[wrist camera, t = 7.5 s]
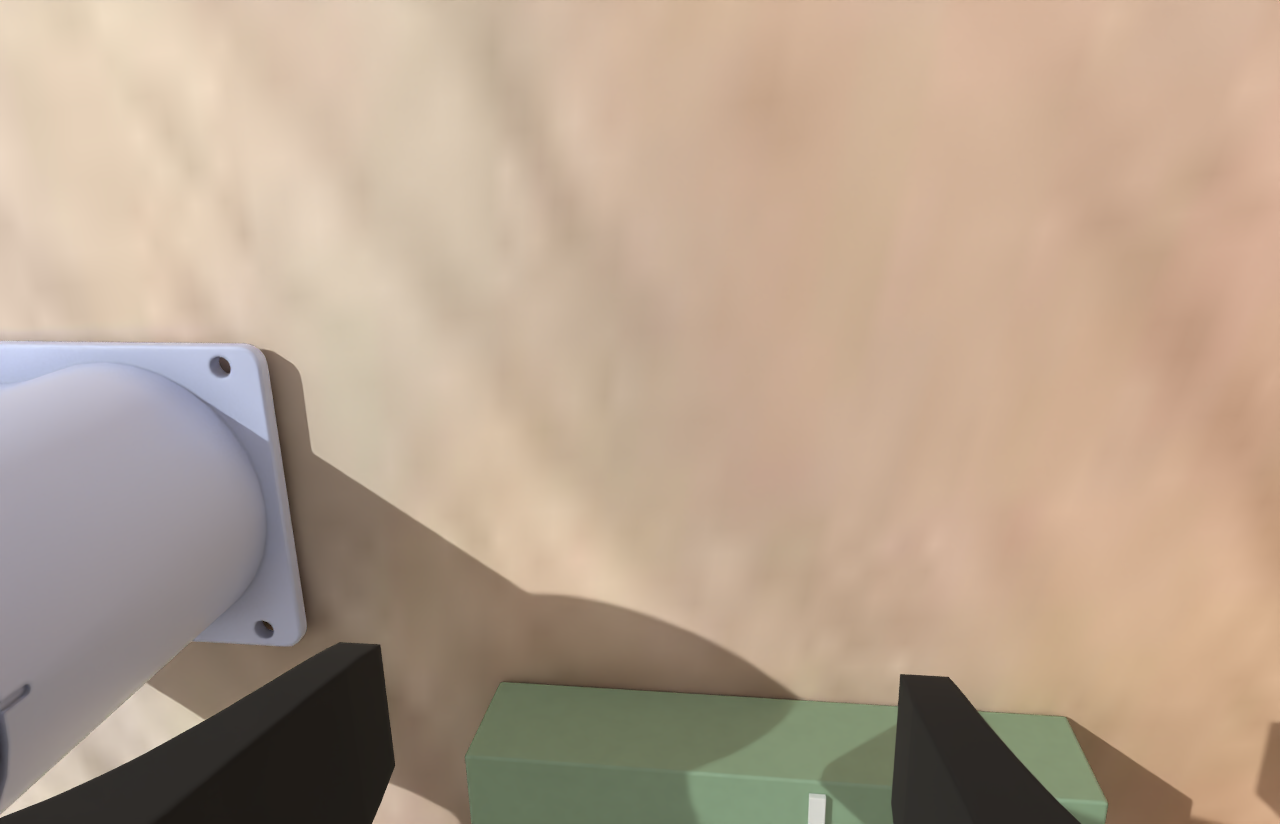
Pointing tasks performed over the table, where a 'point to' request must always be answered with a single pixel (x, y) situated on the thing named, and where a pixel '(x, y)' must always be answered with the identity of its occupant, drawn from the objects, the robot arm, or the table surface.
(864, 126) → the table surface
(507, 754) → the plate
